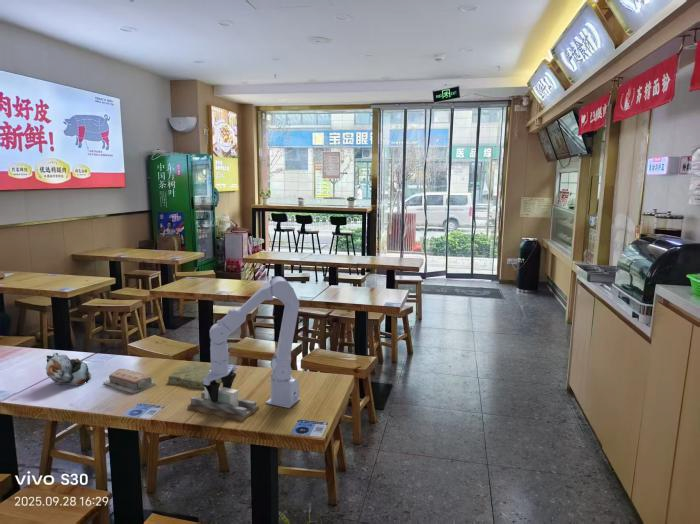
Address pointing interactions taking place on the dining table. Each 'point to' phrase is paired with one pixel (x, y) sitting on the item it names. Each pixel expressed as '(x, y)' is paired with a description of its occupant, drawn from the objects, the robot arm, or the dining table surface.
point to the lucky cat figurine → (67, 370)
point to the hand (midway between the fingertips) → (220, 397)
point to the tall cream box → (225, 396)
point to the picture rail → (224, 407)
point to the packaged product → (129, 381)
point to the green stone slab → (191, 375)
